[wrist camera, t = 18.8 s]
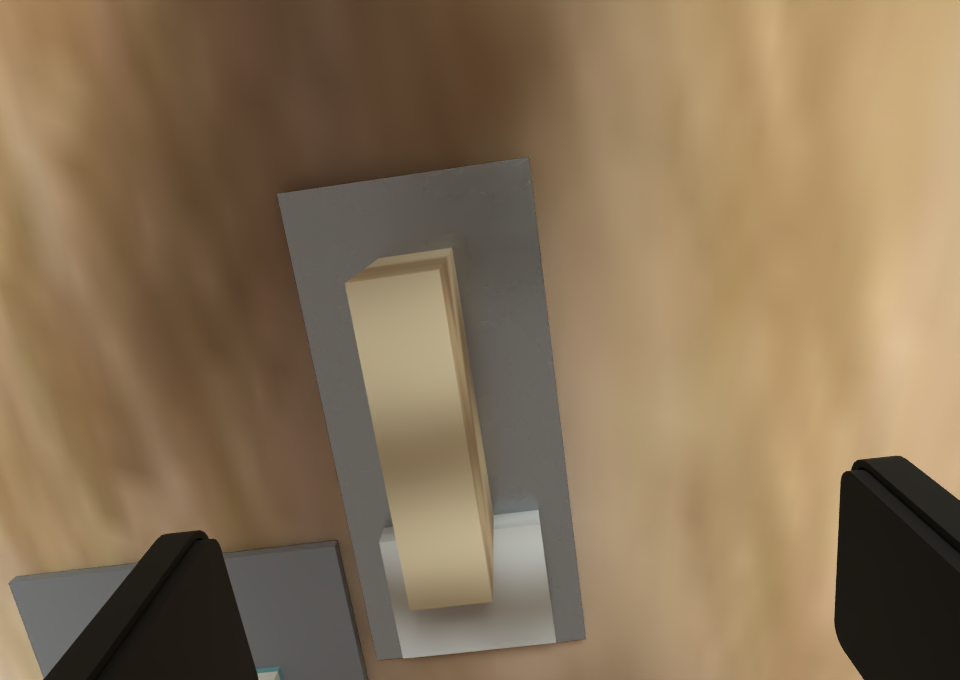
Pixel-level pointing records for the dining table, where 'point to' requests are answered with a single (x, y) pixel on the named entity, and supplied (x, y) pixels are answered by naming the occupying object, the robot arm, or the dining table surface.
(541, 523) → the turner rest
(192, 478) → the dining table surface
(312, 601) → the mat
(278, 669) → the tile
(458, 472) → the tan bar with plate
